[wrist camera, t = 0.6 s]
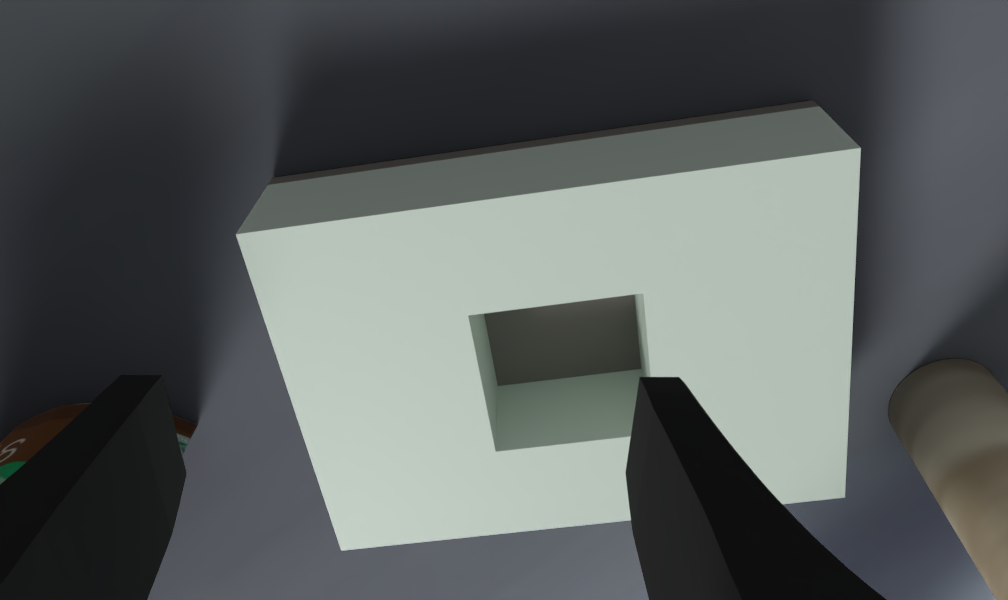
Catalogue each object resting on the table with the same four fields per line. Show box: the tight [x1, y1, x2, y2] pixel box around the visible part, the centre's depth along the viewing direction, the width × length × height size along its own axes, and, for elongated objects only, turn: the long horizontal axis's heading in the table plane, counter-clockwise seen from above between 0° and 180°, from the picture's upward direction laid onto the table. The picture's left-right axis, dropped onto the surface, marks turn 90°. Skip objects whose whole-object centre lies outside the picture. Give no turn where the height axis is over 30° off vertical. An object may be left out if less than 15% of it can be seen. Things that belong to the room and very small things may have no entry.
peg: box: [888, 359, 1008, 600], centre depth 23 cm, size 3×3×8 cm
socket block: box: [236, 100, 861, 551], centre depth 24 cm, size 10×14×4 cm
